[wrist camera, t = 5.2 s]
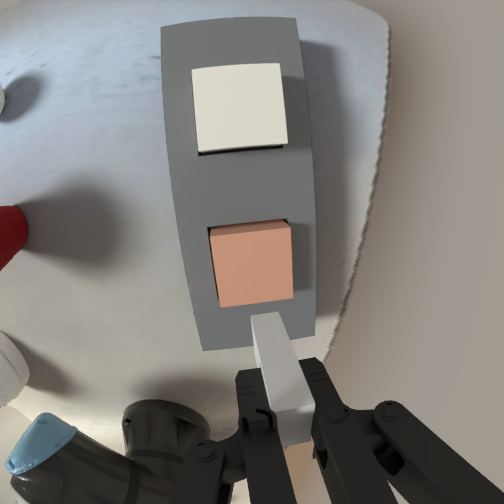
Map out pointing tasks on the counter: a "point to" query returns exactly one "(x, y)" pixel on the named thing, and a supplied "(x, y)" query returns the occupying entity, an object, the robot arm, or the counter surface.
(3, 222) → the plastic cup
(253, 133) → the offwhite key
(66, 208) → the counter surface
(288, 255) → the terracotta key
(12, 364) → the honey pot
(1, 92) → the egg
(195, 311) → the key console
